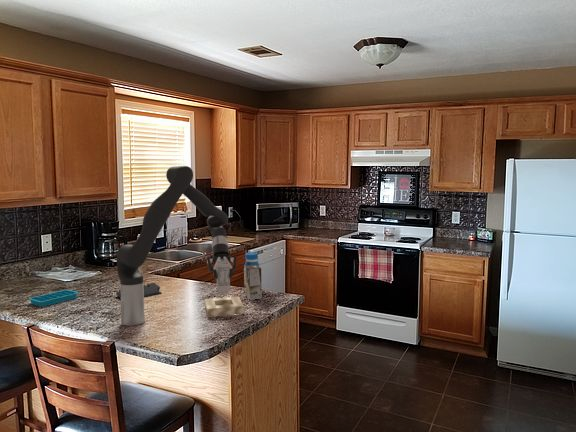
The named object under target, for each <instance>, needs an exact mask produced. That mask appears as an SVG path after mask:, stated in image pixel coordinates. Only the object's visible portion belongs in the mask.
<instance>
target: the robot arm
mask: <svg viewBox="0 0 576 432" xmlns="http://www.w3.org/2000/svg"><path fill="white" fill-rule="evenodd" d="M165 175H166V176H165V177H166V179H167V180H166V181H168V183H169V186H168V187H167V188H166V190H165V191H163V192H162V193H161V194H160V195H159V196H158V197H156V198H155V199H154V200H153V202H151V203H150V206H149V207H148V208H147V210H146V211H145V214H144V216H143V219H142V227H141V232H140V234H139V236H138V237H137V239H136V241H135V242H134V244H124V245H122V246H120V247H119V249H118V250H117V253H116V267H117V268H116V270H117V277H118V279H119V283H120V284H119V285H120V291H121V298H120V303H119V305H120V322H121V323H120V325H121V326H128V327H129V326H130V327H131V326H138V325H141V324H144V323H145V320H146V318H145V317H146V316H145V315H146V314H145V298H144V285H145V284H144V275H143V274H142V273H141V272H140V270H139V268H140V267H142V265H143V264H144V263H145V262H146V261H147V258H148V257H149V256H148V255H150V252H151V250H152V247H153V245H154V243H155V241H156V239H157V238H158V236H159V234H160V232H161V230H162V229H163V227H164V225H165V224H166V222H167V221H168V219H169V217H170V216H171V213H172V212H173V210H174V209H175V206H176V205H177V204H178V202H179V200H180V198H181V197H182V195H184V197H186V198H187V199H188V200H189V201H190V202H191V203H192V204H193V205H194V206H195V208H196V209H197V210H198V211H199V212H200V214H201V215H203V216H204V217H207V219H206V224H207V226H208V229H209V230H210V235H211V249H212V258H209V257H207V258H206V264H207V265H206V266H207V267H208V268H207V269H208V272H212V275H213V278H214V279H215V280H217V271H216V263H217V260H219V259H227V260H228V262H229V266H230V279H232V278H233V276H234V275H233V274H234V272H233V271H236V269H237V256H233V257H231V256H230V249H229V242H228V239H227V238H228V237H227V236H228V235H227V232H226V231H227V230H226V229H225V228H224V227H223V226H226V225H227V224H228V223H229V217H228V215H227V213H226V212H225V211H223V210H222V209H220V208H219V207H217V206H216V205H214V203H213V202H212V201H211V200H210V199H209V197H207V196H206V194H204V193H203V192H201V191H200V190H198V189H197V188H196V187H194V186H193V185H192V184H191V183H192V182H193V179H194V171H193V169H192V168H191V167H190V166H187V165H173V166H170V167H169V168H167V170H166V174H165ZM212 262H213V263H214V265H213V267H212ZM230 262H232V263H233V266H232V264H231V263H230Z"/></svg>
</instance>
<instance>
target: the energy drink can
mask: <svg viewBox="0 0 576 432" xmlns="http://www.w3.org/2000/svg"><path fill="white" fill-rule="evenodd" d="M229 263H230V262H228V260H227V259H219V260H217V263H216V271H217V279H216V292H217V293H218V294H220V295H221V294H223V295H224V294H229V292H230V291H231V281H230V280H231V278H230V266H229Z"/></svg>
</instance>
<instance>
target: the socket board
mask: <svg viewBox="0 0 576 432" xmlns="http://www.w3.org/2000/svg"><path fill="white" fill-rule="evenodd" d="M244 308H245V306H244V304H243V302H242V300H241V298H240V297H239V296H229V297H228V296H227V297H217V298H215V297H213V298H205V299H204V309H205V314H206V313H207V314H206V317H211V318H215V317H214V316H224V317H226V316H225V315H234V314H243V313H244V312H245V309H244ZM244 314H245V313H244Z"/></svg>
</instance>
